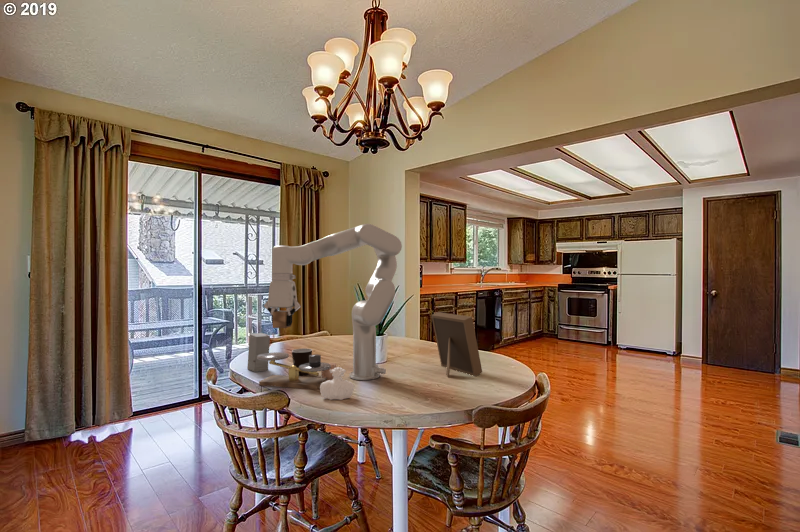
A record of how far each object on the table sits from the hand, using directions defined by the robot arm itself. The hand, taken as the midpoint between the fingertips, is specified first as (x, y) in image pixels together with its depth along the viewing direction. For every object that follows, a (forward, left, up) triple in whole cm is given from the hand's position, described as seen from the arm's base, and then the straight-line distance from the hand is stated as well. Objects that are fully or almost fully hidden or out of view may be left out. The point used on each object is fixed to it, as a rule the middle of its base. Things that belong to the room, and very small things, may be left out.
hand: (282, 324), depth 155 cm
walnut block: (0, 0, -1) cm, 1 cm away
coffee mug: (+1, -20, -24) cm, 31 cm away
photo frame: (-62, -35, -24) cm, 75 cm away
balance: (-3, -4, -22) cm, 23 cm away
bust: (-26, +8, -24) cm, 36 cm away
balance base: (-3, -4, -24) cm, 24 cm away
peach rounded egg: (-14, -13, -24) cm, 30 cm away
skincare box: (+23, -21, -24) cm, 40 cm away
